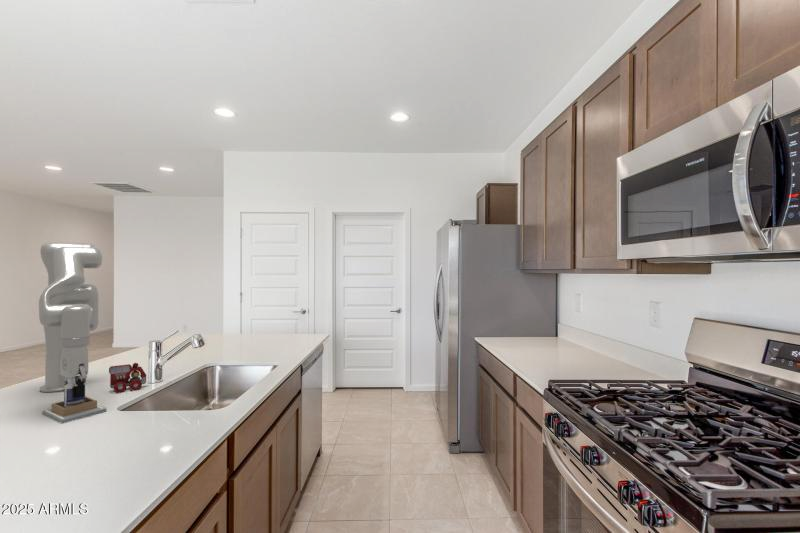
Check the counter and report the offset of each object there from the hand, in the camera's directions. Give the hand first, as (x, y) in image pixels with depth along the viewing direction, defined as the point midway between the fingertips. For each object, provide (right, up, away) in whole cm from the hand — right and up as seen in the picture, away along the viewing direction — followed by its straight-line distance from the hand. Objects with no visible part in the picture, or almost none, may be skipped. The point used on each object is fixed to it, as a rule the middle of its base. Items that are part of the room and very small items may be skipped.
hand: (74, 395), depth 129 cm
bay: (0, -6, 0) cm, 6 cm away
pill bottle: (0, -4, 0) cm, 4 cm away
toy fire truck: (0, -6, +25) cm, 26 cm away
